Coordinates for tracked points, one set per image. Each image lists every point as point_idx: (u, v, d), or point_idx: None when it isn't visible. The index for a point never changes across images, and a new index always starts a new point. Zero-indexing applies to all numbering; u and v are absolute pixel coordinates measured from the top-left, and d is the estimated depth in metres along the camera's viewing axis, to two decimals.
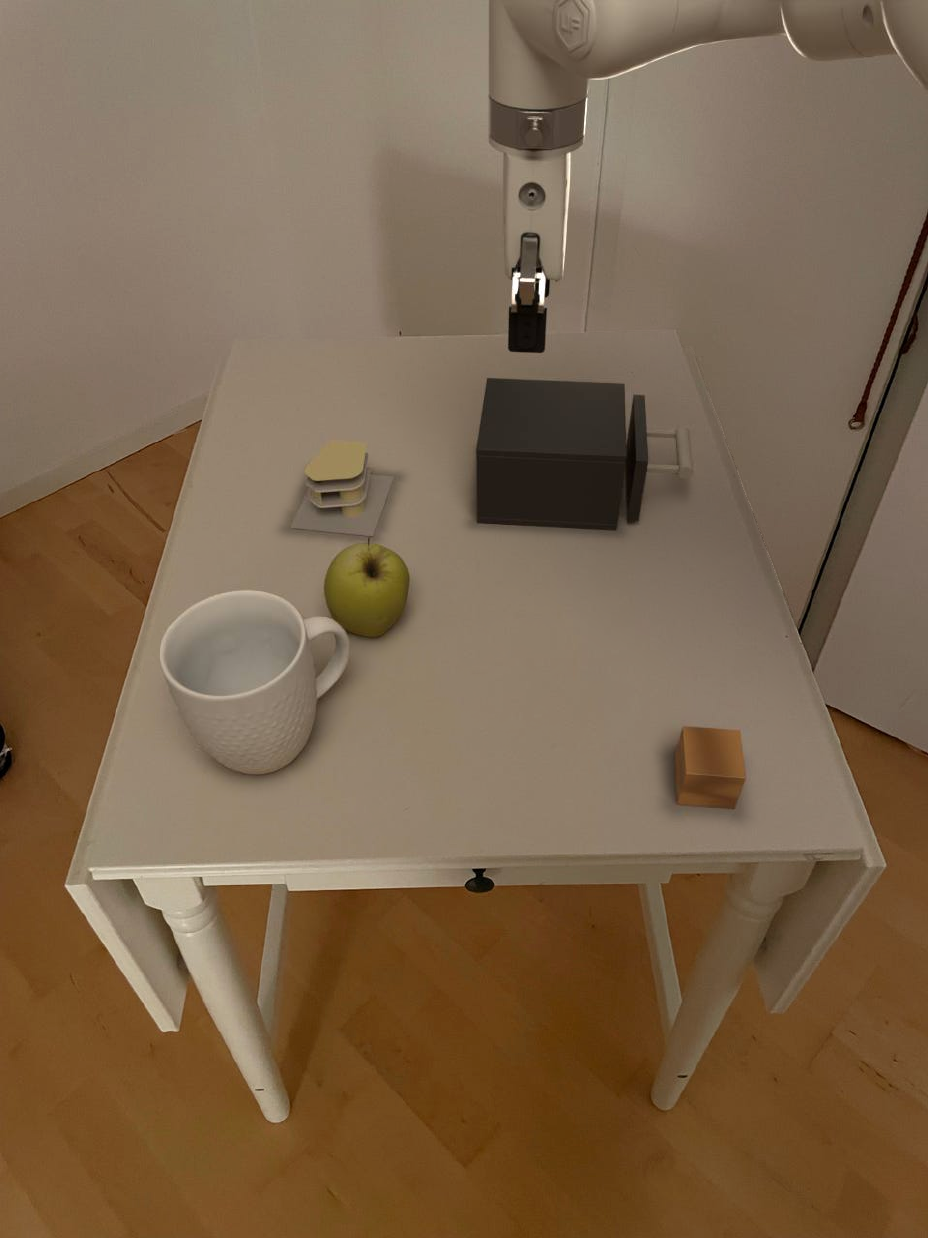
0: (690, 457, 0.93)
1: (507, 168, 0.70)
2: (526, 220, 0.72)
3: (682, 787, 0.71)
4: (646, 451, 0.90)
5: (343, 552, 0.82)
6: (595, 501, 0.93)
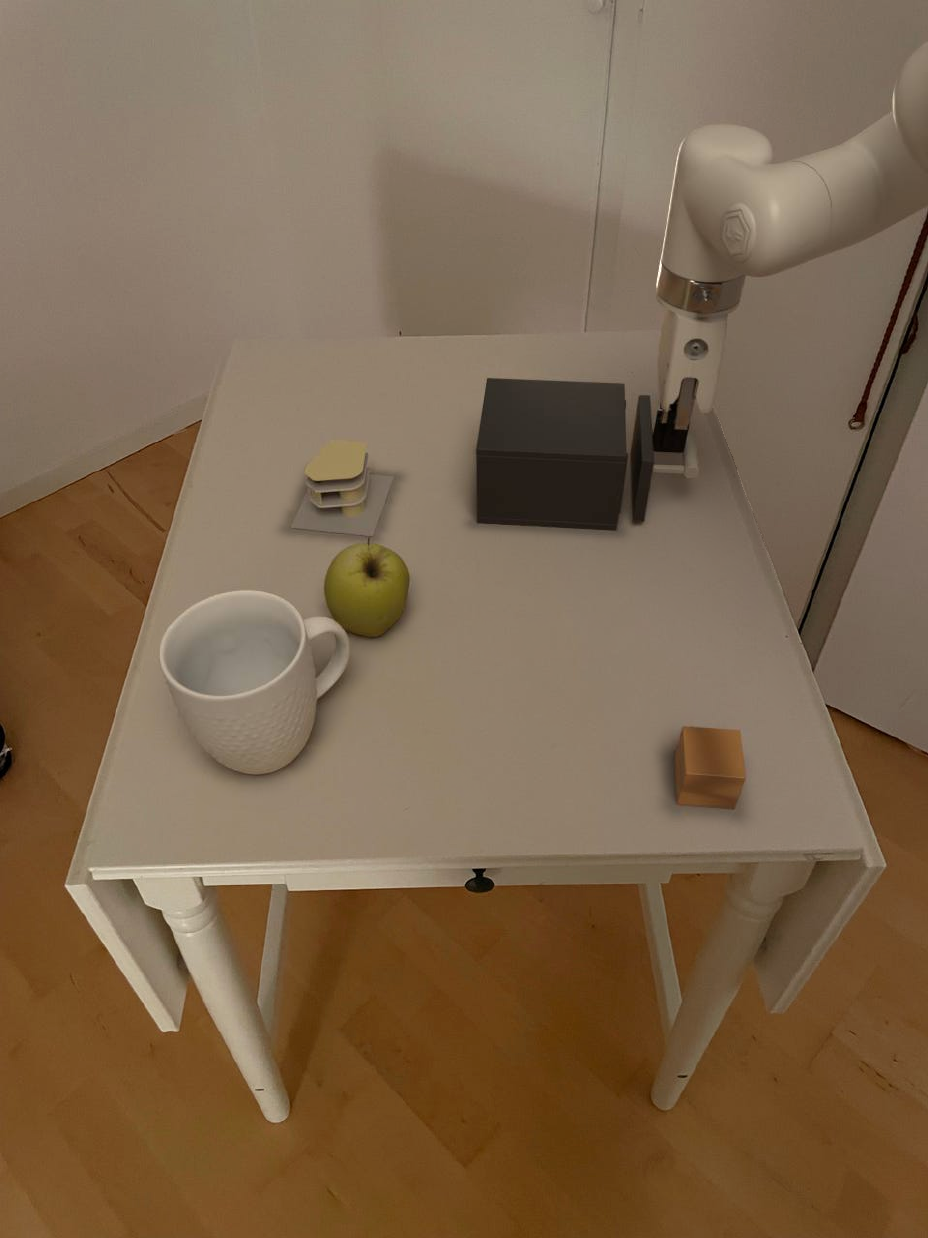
0: (696, 457, 0.93)
1: (676, 326, 0.81)
2: (688, 368, 0.82)
3: (682, 787, 0.71)
4: (652, 451, 0.90)
5: (343, 552, 0.82)
6: (595, 501, 0.93)
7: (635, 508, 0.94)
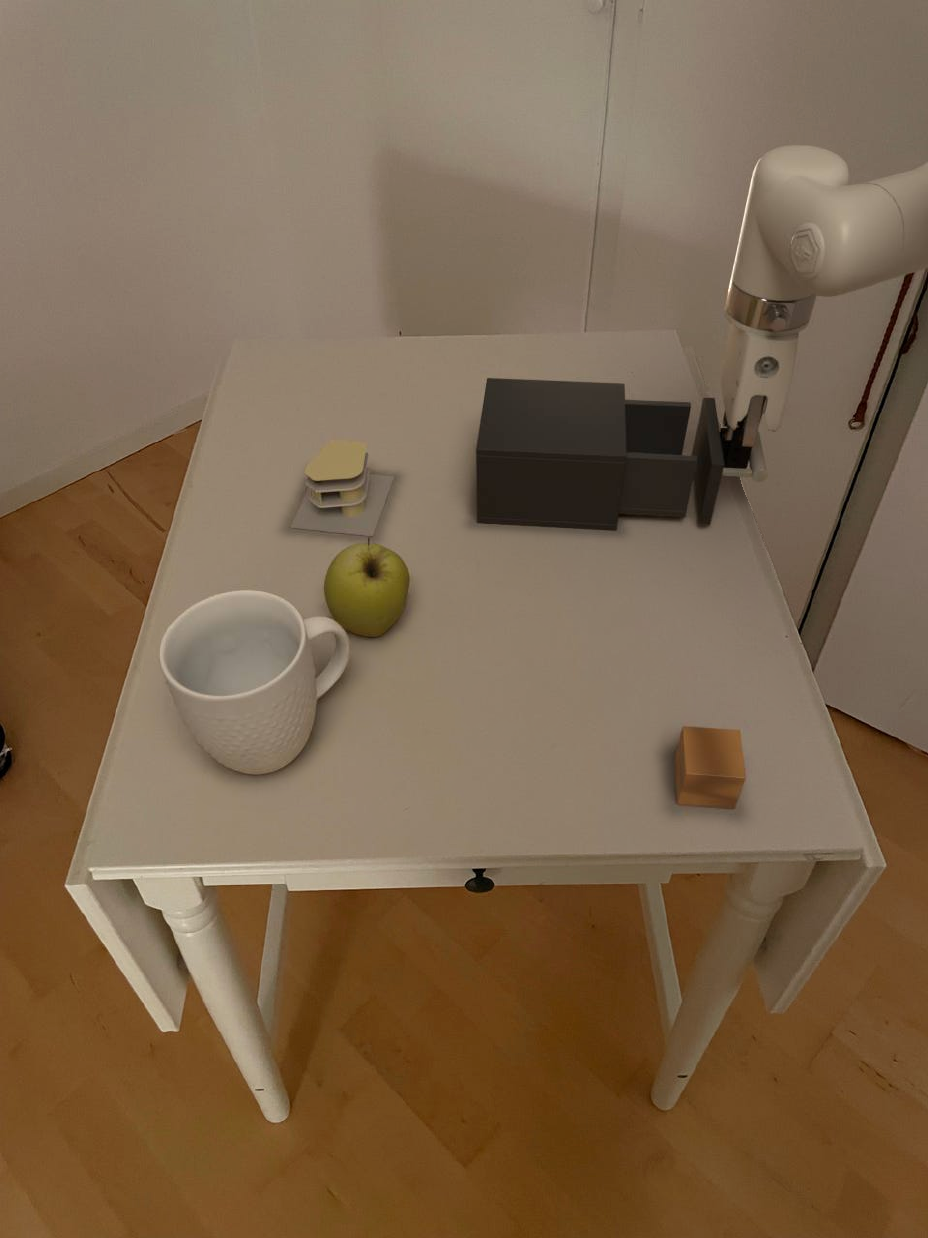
0: (763, 460, 0.92)
1: (746, 344, 0.81)
2: (758, 385, 0.83)
3: (682, 787, 0.71)
4: (721, 455, 0.89)
5: (343, 552, 0.82)
6: (595, 501, 0.93)
7: (702, 511, 0.93)
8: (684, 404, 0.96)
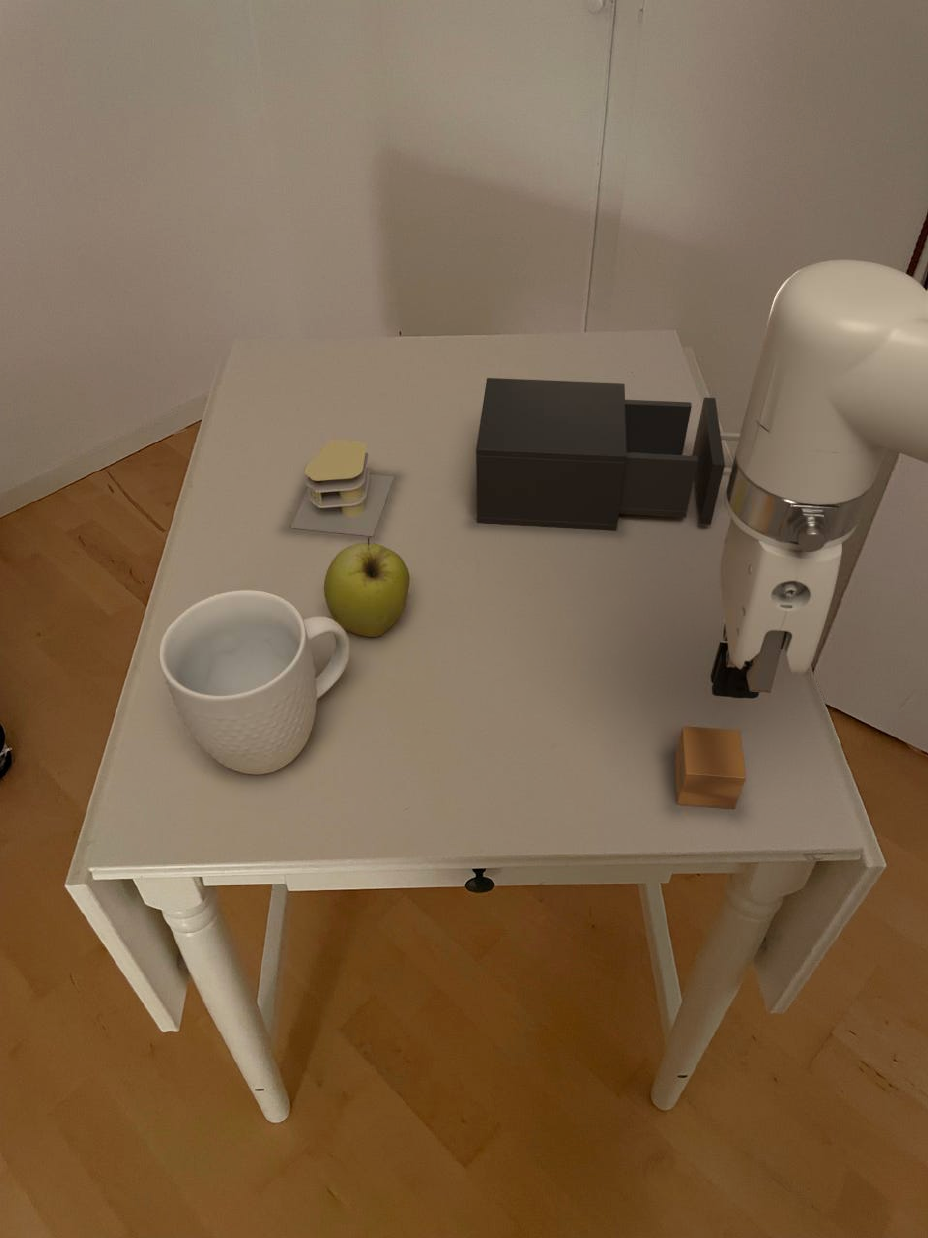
0: None
1: (759, 560, 0.51)
2: (777, 618, 0.53)
3: (682, 787, 0.71)
4: (722, 455, 0.89)
5: (343, 552, 0.82)
6: (595, 501, 0.93)
7: (702, 511, 0.93)
8: (684, 404, 0.96)
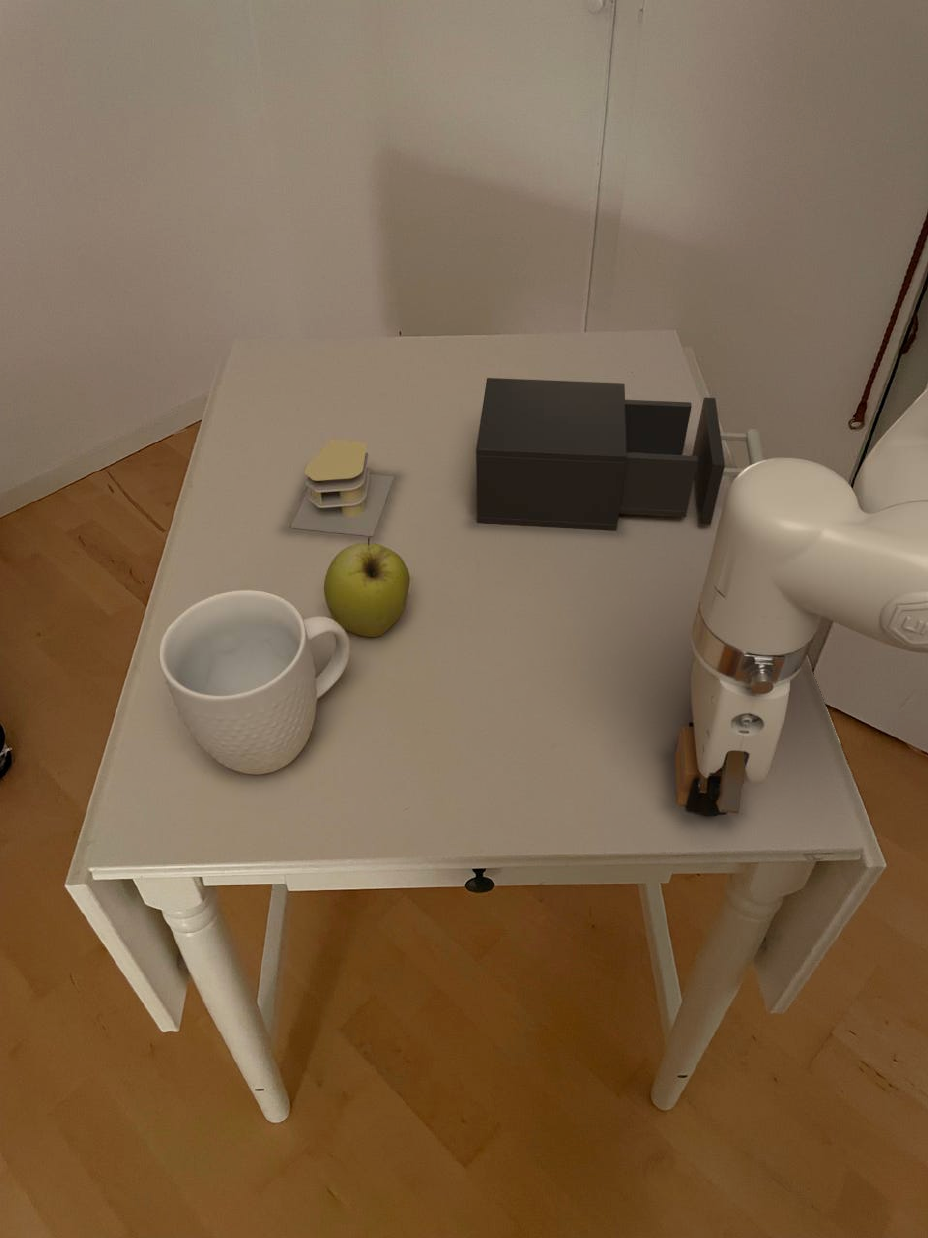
0: None
1: (720, 695, 0.60)
2: (736, 742, 0.62)
3: (682, 787, 0.71)
4: (722, 455, 0.89)
5: (343, 552, 0.82)
6: (595, 501, 0.93)
7: (702, 511, 0.93)
8: (684, 404, 0.96)
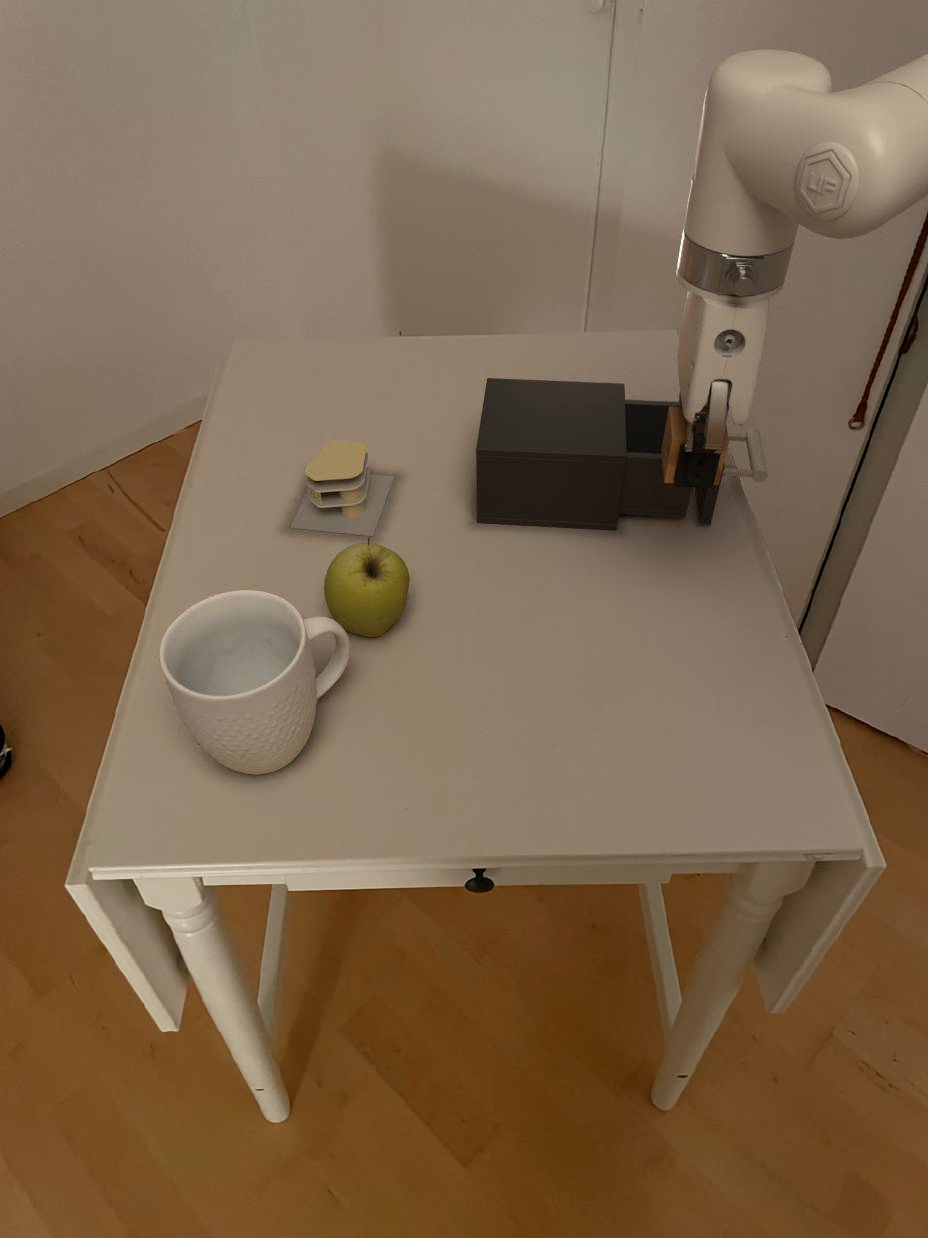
0: (764, 460, 0.92)
1: (704, 313, 0.63)
2: (720, 367, 0.65)
3: (669, 458, 0.75)
4: None
5: (343, 552, 0.82)
6: (595, 501, 0.93)
7: (702, 511, 0.93)
8: None
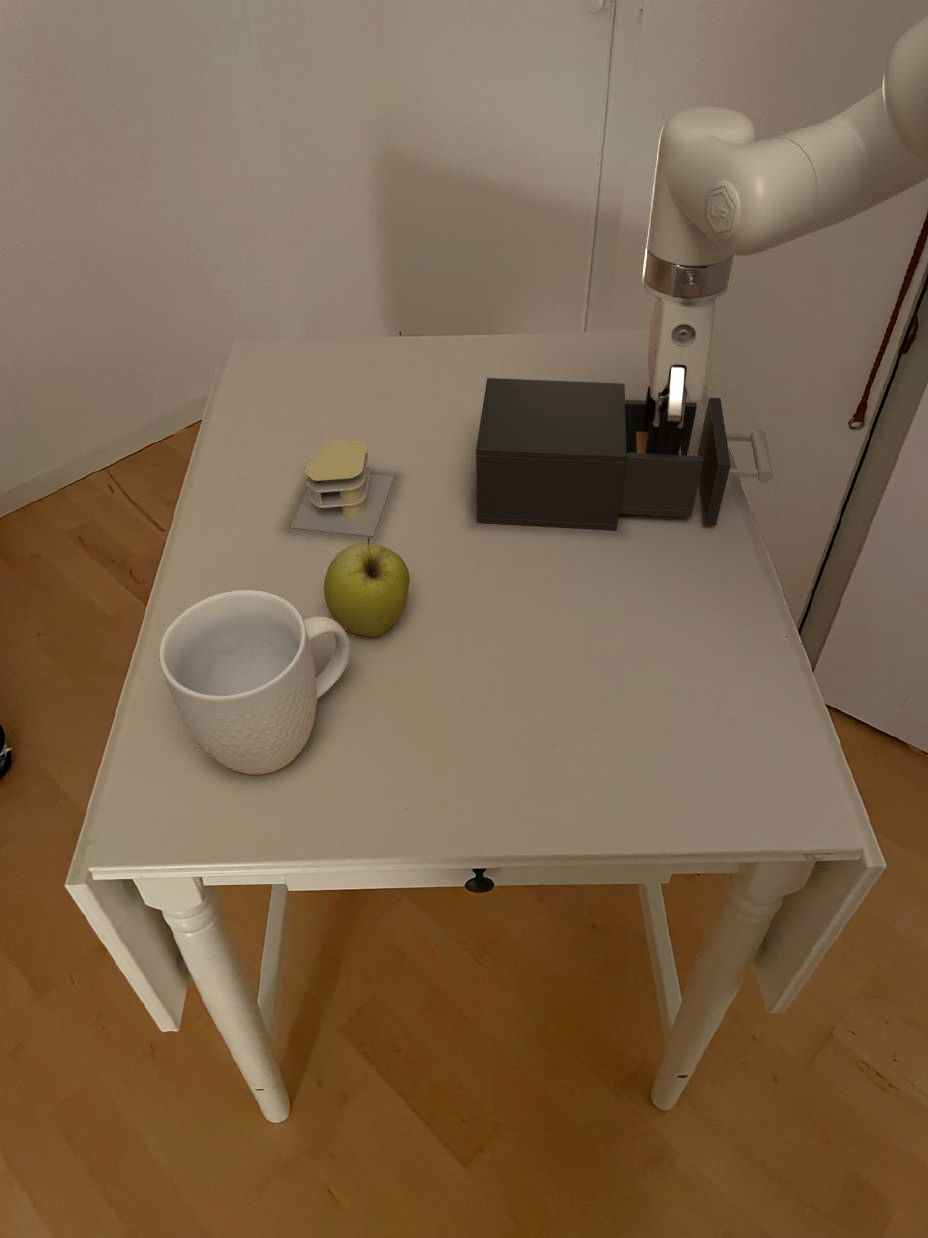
0: (769, 461, 0.92)
1: (662, 311, 0.80)
2: (676, 354, 0.81)
3: None
4: (728, 455, 0.89)
5: (343, 552, 0.82)
6: (595, 501, 0.93)
7: (708, 512, 0.93)
8: (690, 404, 0.96)
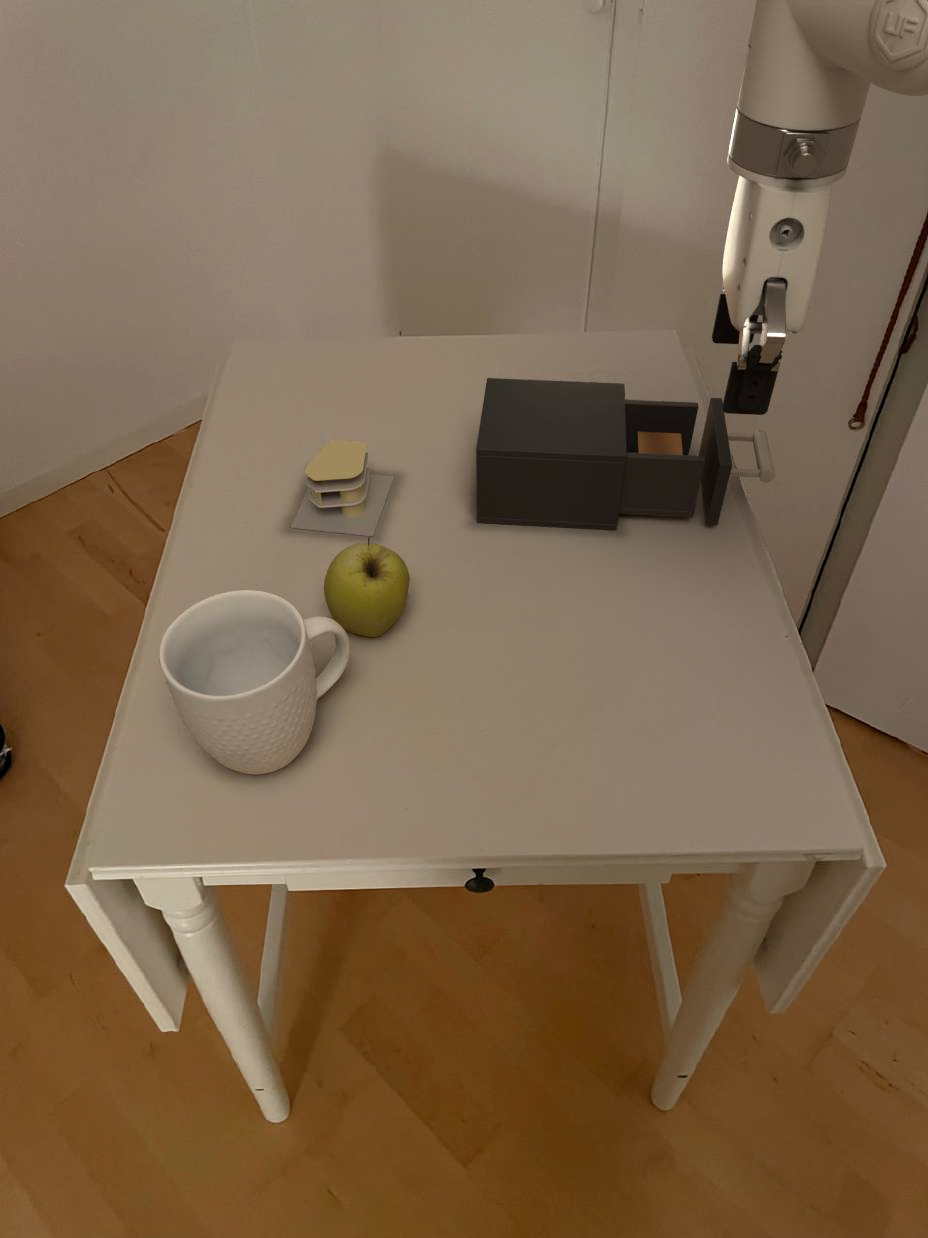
0: (771, 461, 0.92)
1: (758, 201, 0.58)
2: (774, 263, 0.59)
3: None
4: (729, 455, 0.89)
5: (343, 552, 0.82)
6: (595, 501, 0.93)
7: (709, 512, 0.93)
8: (691, 404, 0.96)
